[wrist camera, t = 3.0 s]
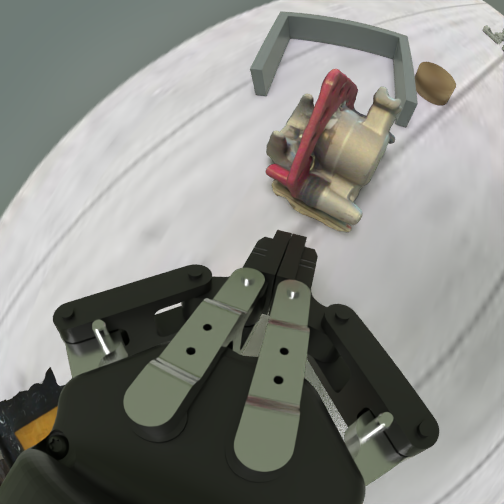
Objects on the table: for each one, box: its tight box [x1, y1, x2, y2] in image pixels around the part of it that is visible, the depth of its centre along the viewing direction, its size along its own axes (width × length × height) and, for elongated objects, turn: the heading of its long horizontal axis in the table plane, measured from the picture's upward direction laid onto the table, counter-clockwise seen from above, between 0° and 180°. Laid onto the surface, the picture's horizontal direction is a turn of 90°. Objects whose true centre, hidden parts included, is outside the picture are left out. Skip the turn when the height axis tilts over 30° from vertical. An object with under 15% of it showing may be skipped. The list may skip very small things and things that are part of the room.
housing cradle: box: [250, 12, 417, 127], centre depth 24 cm, size 16×14×4 cm
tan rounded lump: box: [415, 62, 456, 105], centre depth 22 cm, size 5×5×3 cm
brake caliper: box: [266, 69, 402, 232], centre depth 20 cm, size 11×11×12 cm
